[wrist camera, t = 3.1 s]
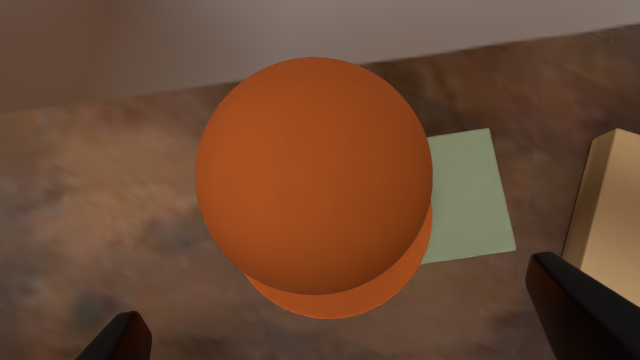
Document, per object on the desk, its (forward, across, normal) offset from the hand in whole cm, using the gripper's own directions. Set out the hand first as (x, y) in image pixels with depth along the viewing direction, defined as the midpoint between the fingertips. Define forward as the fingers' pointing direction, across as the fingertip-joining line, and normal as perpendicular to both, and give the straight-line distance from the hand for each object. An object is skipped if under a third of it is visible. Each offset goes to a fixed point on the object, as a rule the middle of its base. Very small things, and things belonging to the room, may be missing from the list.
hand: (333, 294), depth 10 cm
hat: (+7, 0, +3) cm, 7 cm away
